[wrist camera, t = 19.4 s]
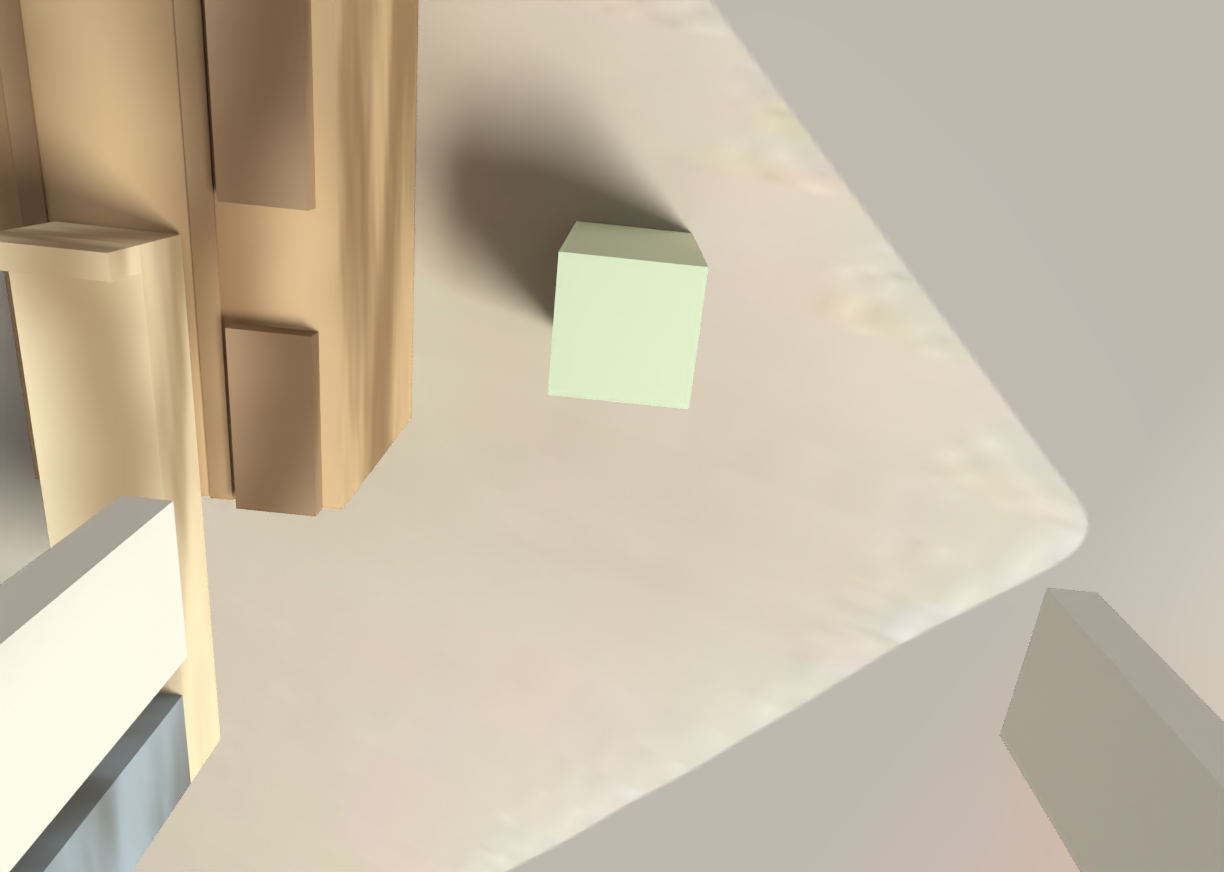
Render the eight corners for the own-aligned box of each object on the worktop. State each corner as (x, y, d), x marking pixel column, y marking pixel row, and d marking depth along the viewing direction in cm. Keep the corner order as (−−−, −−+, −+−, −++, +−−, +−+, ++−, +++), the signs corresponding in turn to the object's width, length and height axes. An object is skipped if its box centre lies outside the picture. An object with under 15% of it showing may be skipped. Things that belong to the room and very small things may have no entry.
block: (567, 333, 38) (547, 394, 30) (576, 221, 37) (558, 251, 28) (677, 345, 38) (688, 409, 30) (691, 232, 37) (708, 267, 28)
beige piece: (120, 729, 34) (-115, 1007, 23) (54, 221, 27) (-324, 288, 16) (220, 739, 34) (30, 1021, 23) (180, 234, 27) (-117, 310, 16)
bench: (177, 393, 40) (22, 486, 30) (135, -98, 33) (-86, -193, 23) (411, 417, 40) (335, 518, 30) (419, -67, 33) (324, -148, 23)
